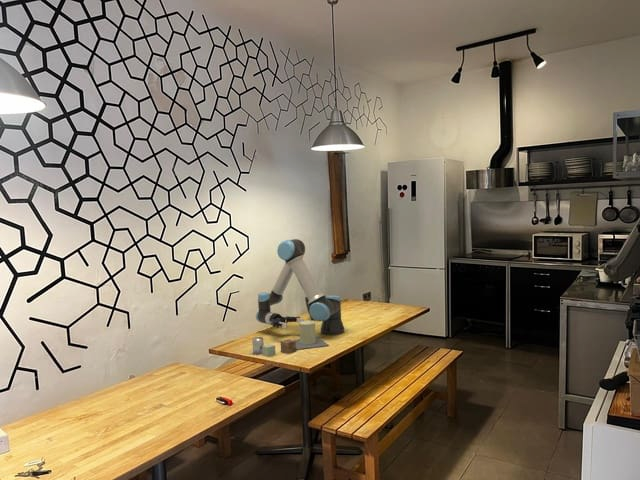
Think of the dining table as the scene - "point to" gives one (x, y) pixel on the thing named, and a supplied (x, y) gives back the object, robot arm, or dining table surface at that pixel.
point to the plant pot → (308, 306)
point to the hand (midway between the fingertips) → (295, 323)
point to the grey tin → (257, 345)
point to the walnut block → (288, 346)
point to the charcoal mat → (317, 344)
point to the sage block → (268, 350)
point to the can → (307, 332)
